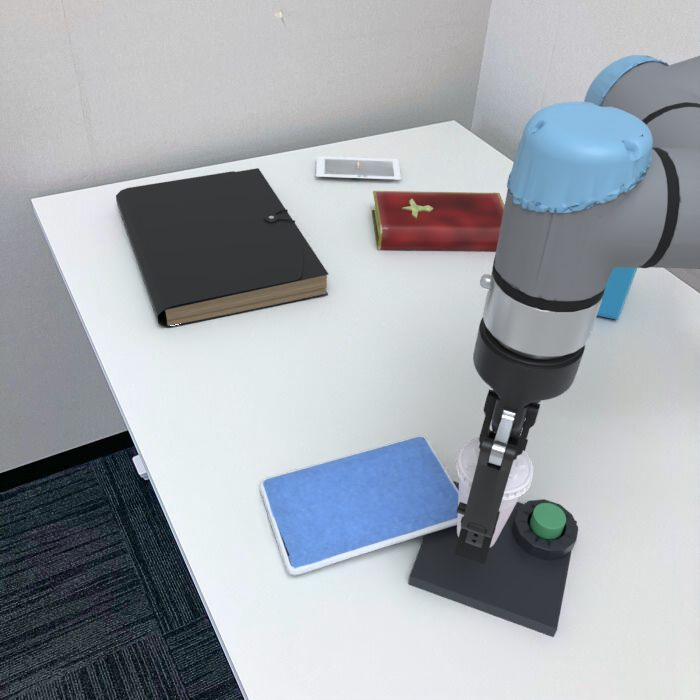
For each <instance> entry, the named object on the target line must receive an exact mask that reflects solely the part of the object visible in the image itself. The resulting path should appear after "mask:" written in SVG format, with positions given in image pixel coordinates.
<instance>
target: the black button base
mask: <svg viewBox="0 0 700 700" xmlns="http://www.w3.org/2000/svg"><path fill="white" fill-rule="evenodd" d="M452 481H453V483H454V484H455V486H456V488H457V489H458V491H459V481H455V480H452ZM541 503H551V504H554V505H556V506H558V507H559V508H561V509H562V511H563V512H564V513H565V516H566V523H565V525H564V528H563V531H562V533H561V535H560V536H559V537H557V538H555V539H544V538H541V537H539V536H537V535H536V534H535V533H534V532H533V531H532V529H531V526H530V520H531V517H532V514H533V511H534V508H535V507H536V506H537V505H539V504H541ZM578 533H579V526H578V521H577V520H575V518H574V515H573V514H572V513H571V512H570V511H569V510H568V509H566V508H565V507H564V506H563V505H561V504H560V503H558V502H554V501H551V500H549V499H545V498H543V499H541V498H540V499H532V500H528V501H526V502H524V503H522V502H520V501H517V503H516V505H515V507H514V509H513V510H512V512H511V514H510V516H509V518H508V520H507V522H506V523H505V525H504V527H503V529H502V531H501V533H500V535H499V536H498V538H497V540H496V542H495V544H494V545H493V546H492V547H490V548H489V551H488V555H487V558H486V561H485V565H484V564H482V563H479V562H476V561H473V560H470V559H467V558H464V557H462V556H459V555H456V554H455V550H456V546H457V542H458V538H459V537H458V534H457V525H455V526H451V527H448V528H445V529H442V530H439V531H435V532H432V533H429V534H425V535H423V536H424V537H423V539H422V542H421V544H420V547H419V549H418V553H417V555H416V558H415V561H414V563H413V565H412V569H411V571H410V574H409V578H408V584H407V585H409V586H410V587H414V588H417V589H420V590H422V591H425V592H428V593H431V594H433V595H436V596H439V597H441V598H444V599H447V600H449V601H452V602H455V603H458V604H460V605H464V606H465V607H469V608H472V609H474V610H477V611H480V612H483V613H485V614H487V615H488V614H489V615H491V616H493V617H496V618H499V619H501V620H504V621H507V622H510V623H513V624H516V625H518V626H521V627H524V628H527V629H529V630H532V631H535V632H537V633H540V634H543V635H545V636H548V637H551V638H554V637H555V636H556V633H557V631H558V626H559V622H560V615H561V610H562V604H563V600H564V594H565V588H566V583H567V578H568V572H569V567H570V562H571V557H572V551H573V549H574V547H575V545H576V542H577V540H578V539H577V538H578Z"/></svg>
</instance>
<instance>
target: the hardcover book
mask: <svg viewBox="0 0 700 700" xmlns="http://www.w3.org/2000/svg"><path fill="white" fill-rule="evenodd" d="M372 194H373V200H374V209H371V216H372V222H373V230H374V236H375V242H376V243H375V244H376V248H377V249H376V250H377V251H420V252H421V251H423V252H425V251H427V252H429V251H430V252H431V251H432V252H496V249H497V244H498V239H499V233H500V228H501V223H502V217H503V212H504V206H505V202H504V200H503V198H502V195H501V194H500V192H470V191H469V192H465V191H464V192H463V191H462V192H461V191H410V190H409V191H408V190H407V191H405V190H373V191H372Z"/></svg>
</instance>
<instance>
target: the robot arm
mask: <svg viewBox="0 0 700 700" xmlns="http://www.w3.org/2000/svg"><path fill="white" fill-rule="evenodd" d="M506 189H507V190H506V196H505V201H504V205H505V206H504V212H503V217H502V223H501V228H500V233H499V239H498V244H497V249H496V251H495V255H494V258H493V264H492V270H491V272H490V274H487V273H484V274H483V275H482V276H481V278H480V280H479V285H480V287H481V288H483V289H487V290H488V291H487V293H486V296H485V301H484V305H483V312H482V317H481V319H480V322H479V324H478V325H479V326H478V330H477V334H476V335H477V336H476V341H475V345H474V350H473V356H472V357H473V358H472V361H473V365H474V369H475V371H476V372H477V374H478V376H479V377H480V378H481V380H482V381H483V383H485V384H486V385H488V386H489V388H491V389H488V392H487V394H486V398H485V402H484V406H483V412H484V419H483V423H482V426H481V430H480V433H479V437H478V438H479V441H480V445H479V448H480V452H479V457H478V462H477V466H476V470H475V474H474V478H473V482H472V486H471V490H470V494H469V498H468V502H467V504H465V503H462V502H460V503H459V505H458V508H457V511H456V513H459V514H462V515H464V516H463V517H462V519H461V522H460V523H461V530H460V534H459V538H458V542H457V546H456V550H455V554H456V555H459V556H462V557H464V558H467V559H470V560H473V561H476V562H479V563H482V564H484V565H485V561H486V558H487V555H488V551H489V548H490V545H491V541H492V538H493V534H494V533H495V529H496V524H497V521H498V518H499V514H500V512H499V508H500V505H501V502H502V498H503V495H504V491H505V488H506V484H507V481H508V478H509V474H510V471H511V467H512V464H513V461H514V460H515V459H516V458H517V456H518V455H521V454H522V452H523V450H524V451H525V452H526V448H527V445H528V441H529V439H528V435H529V432H530V429H531V428H533V427H534V426H535V424H536V421H537V418H538V415H539V411H540V407H541V401H548V400H552V399H554V398H557V397H560V396H561V395H563V394H564V393H566V392H567V391H568V390H569V389H570V388H571V387H572V385H573V383H574V382H575V380H576V376H577V373H578V370H579V367H580V364H581V362H582V359H583V355H584V352H585V349H586V344H587V343H588V341H589V340H590V338H591V334H592V331H593V328H594V326H595V322H596V320H597V314H598V311H599V308H600V305H601V302H602V299H603V295H604V292H605V287H606V284H607V282H608V280H609V277H610V275H611V272H612V270H613V269H614V268H637V269H649V268H657V269H659V268H660V269H684V270H685V269H686V270H688V269H689V270H700V55H698V56H695V57H691V58H688V59H685V60H681V61H678V62H676V63H672V64H670V65H669V63H667V62H666V61H665V62H664V61H663V60H662V59H658V58H655V57H654V56H649V55H641V54H631V55H628V56H627V55H626V56H623V57H621V58H618V59H617V60H615V61H613V62H611V63H609V64H608V65H607V66H605V67H604V68H603V69H602V70H601V71H600V72H599V73H598V74H597V75H596V77H594V79H593V80H592V81H591V84H590V85H589V87H588V89H587V91H586V93H585V96H584V101H566V102H560V103H555V104H551V105H548V106H546V107H543V108H542V109H540V110H538V111H537V112H536V113H534V114H533V115H532V116H531V117H530V118H529V120H528V121H527V122H526V124H525V127H524V129H523V131H522V134H521V138H520V141H519V143H518V146H517V149H516V153H515V157H514V160H513V164H512V168H511V170H510V173H509V174H508V178H507V182H506ZM495 432H496V433H495Z"/></svg>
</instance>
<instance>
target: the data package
mask: <svg viewBox="0 0 700 700" xmlns="http://www.w3.org/2000/svg"><path fill="white" fill-rule="evenodd" d="M637 270H638V268H614V269H613V270H612V272H611V275H610V277H609V280H608V282H607V284H606V287H605V292H604V295H603V299H602V302H601V305H600V308H599V311H598V314H597V316H598V317H603V318H607V319H612V320H616V321H617V320H619V319H620V317H621V315H622V313H623V310H624V306H625V305H626V301H627V298H628V296H629V292H630V289H631V287H632V284H633V282H634V279H635V276H636V273H637Z"/></svg>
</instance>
